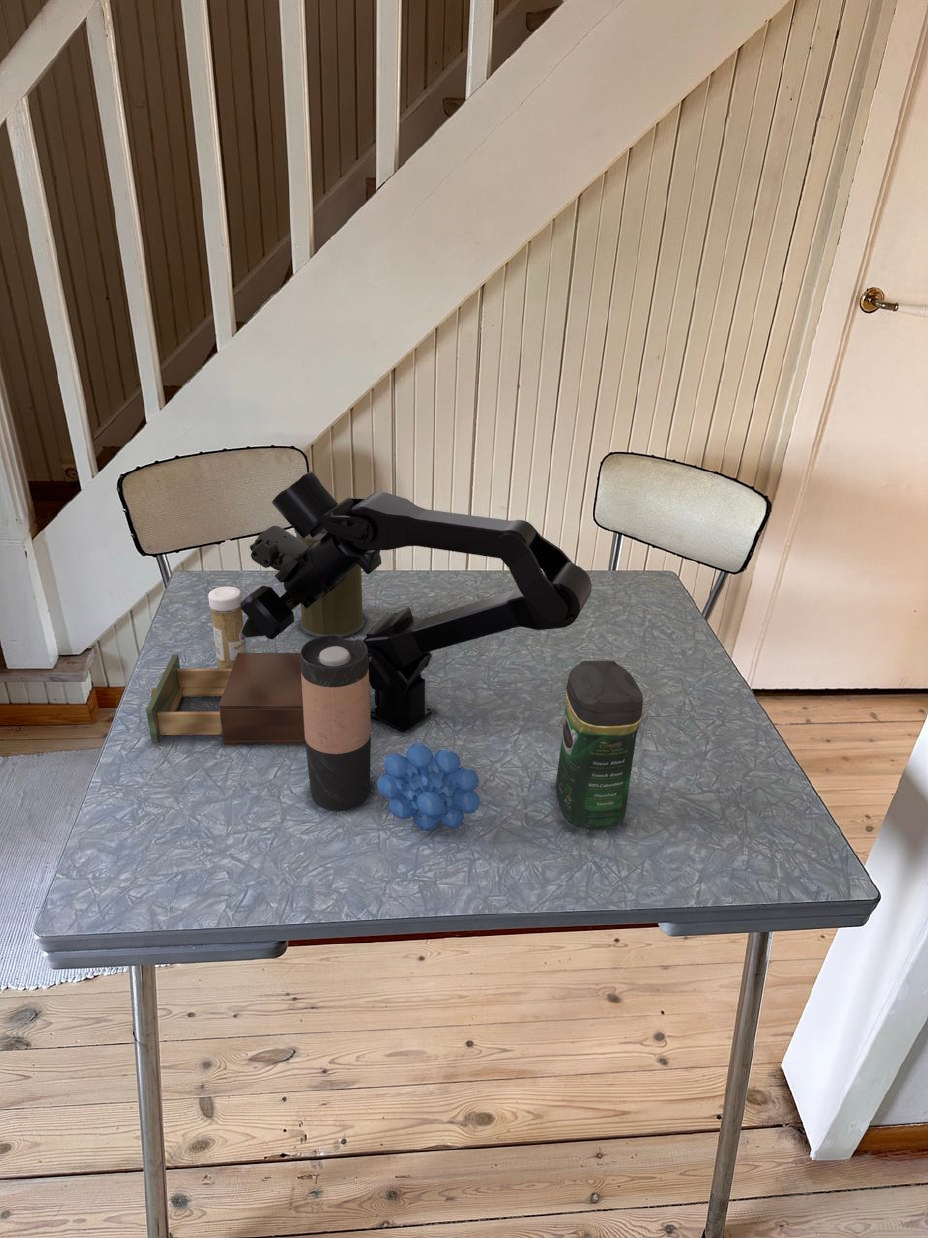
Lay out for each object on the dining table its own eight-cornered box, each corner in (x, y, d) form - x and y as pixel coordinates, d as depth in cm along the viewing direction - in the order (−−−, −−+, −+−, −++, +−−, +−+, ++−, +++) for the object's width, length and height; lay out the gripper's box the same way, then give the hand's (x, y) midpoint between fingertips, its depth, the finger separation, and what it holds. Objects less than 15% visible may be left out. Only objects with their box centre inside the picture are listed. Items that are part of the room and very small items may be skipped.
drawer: (142, 744, 109) (135, 709, 106) (168, 686, 121) (163, 654, 118) (246, 743, 110) (242, 708, 107) (262, 686, 121) (259, 654, 119)
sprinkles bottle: (248, 680, 124) (240, 598, 117) (216, 682, 123) (206, 600, 116) (250, 664, 127) (242, 584, 121) (219, 665, 127) (209, 585, 120)
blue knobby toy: (377, 856, 93) (374, 770, 87) (378, 815, 99) (376, 732, 93) (481, 854, 94) (486, 769, 88) (477, 813, 100) (481, 730, 94)
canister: (360, 640, 135) (356, 524, 125) (295, 638, 135) (287, 521, 125) (367, 608, 144) (365, 498, 135) (307, 606, 144) (300, 496, 135)
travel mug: (321, 820, 98) (312, 674, 88) (300, 782, 104) (289, 641, 94) (382, 801, 101) (379, 659, 91) (358, 765, 107) (354, 628, 97)
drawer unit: (223, 744, 110) (218, 705, 107) (241, 689, 121) (237, 652, 118) (316, 744, 110) (313, 705, 108) (325, 689, 122) (323, 652, 119)
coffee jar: (632, 831, 98) (655, 698, 89) (566, 835, 97) (582, 701, 88) (610, 778, 106) (628, 651, 97) (549, 781, 105) (562, 654, 96)
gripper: (322, 491, 117) (261, 551, 125) (246, 539, 101) (182, 604, 110) (375, 553, 118) (310, 608, 127) (307, 609, 103) (239, 668, 111)
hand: (262, 619), depth 118 cm, fingers open, 9 cm apart
